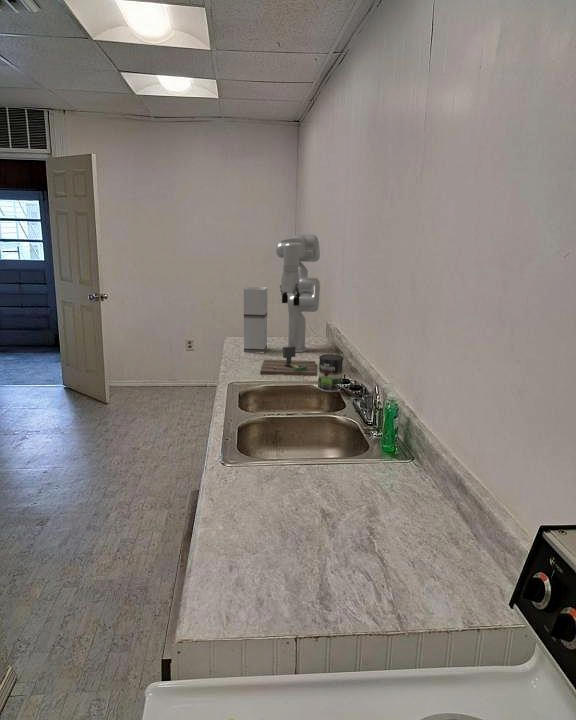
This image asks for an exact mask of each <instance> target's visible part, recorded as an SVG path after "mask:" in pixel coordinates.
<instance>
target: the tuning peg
mask: <svg viewBox="0 0 576 720" xmlns="http://www.w3.org/2000/svg"><path fill="white" fill-rule="evenodd" d="M295 348H296V347H295V346H288V345H287V346H283V347H282V358H284V359H285V360H286V363H285V366H291V367H294V368H299V367H298V366H296V365H294V364H293V363H291V360H292V358H295V357H296V352H295Z"/></svg>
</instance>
